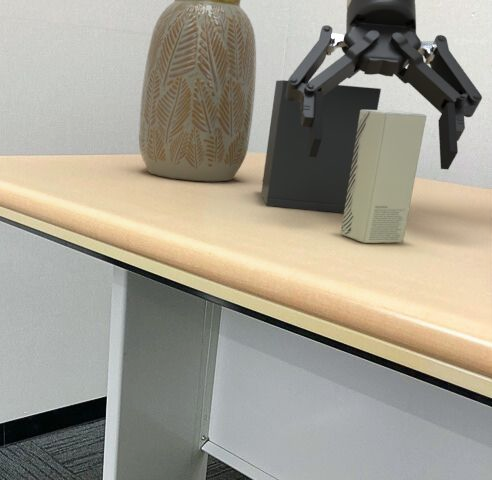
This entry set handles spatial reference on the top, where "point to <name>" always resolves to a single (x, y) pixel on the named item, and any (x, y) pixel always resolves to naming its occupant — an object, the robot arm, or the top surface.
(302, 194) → the dark grey block
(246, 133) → the vase
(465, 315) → the top surface
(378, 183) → the box
